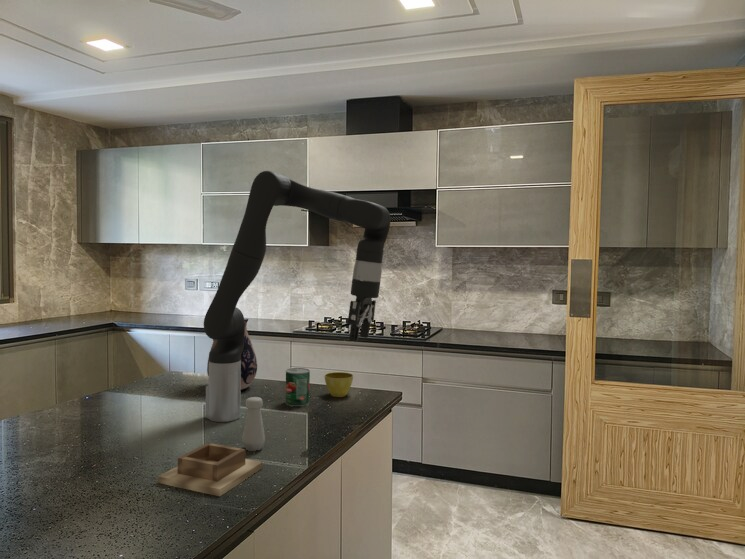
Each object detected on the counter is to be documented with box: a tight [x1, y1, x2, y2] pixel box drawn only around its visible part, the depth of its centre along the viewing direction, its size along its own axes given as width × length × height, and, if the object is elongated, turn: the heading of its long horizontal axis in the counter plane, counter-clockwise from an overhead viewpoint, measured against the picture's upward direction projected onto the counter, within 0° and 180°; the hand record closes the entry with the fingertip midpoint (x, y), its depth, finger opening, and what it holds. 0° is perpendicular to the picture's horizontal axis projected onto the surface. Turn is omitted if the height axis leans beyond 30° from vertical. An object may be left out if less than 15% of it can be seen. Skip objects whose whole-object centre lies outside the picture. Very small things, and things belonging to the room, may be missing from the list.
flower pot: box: [323, 371, 354, 398], centre depth 194 cm, size 10×10×7 cm
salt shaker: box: [241, 396, 266, 452], centre depth 141 cm, size 6×6×13 cm
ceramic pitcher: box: [206, 318, 258, 391], centre depth 200 cm, size 18×21×25 cm
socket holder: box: [157, 442, 264, 497], centre depth 124 cm, size 16×16×5 cm
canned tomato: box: [284, 367, 311, 407], centre depth 183 cm, size 8×8×11 cm
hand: (358, 338), depth 148 cm, fingers open, 8 cm apart
